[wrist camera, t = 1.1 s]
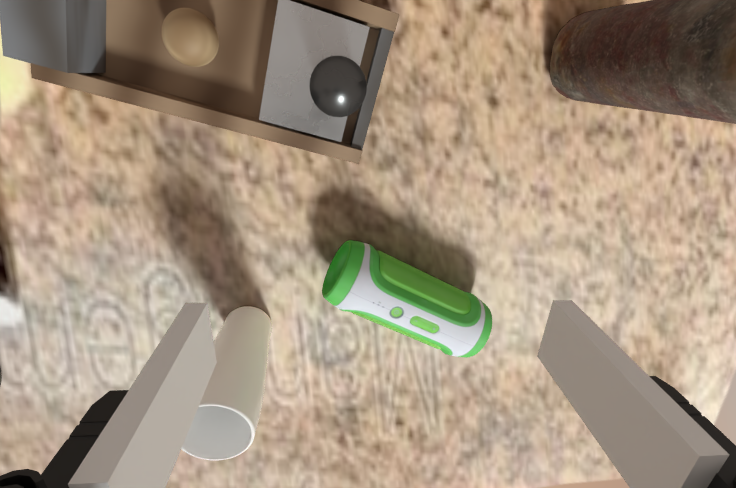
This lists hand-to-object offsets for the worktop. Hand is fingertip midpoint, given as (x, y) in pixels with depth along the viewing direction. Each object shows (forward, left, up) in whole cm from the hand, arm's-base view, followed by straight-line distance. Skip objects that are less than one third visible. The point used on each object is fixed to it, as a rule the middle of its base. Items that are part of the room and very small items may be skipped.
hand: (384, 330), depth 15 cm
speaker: (+9, -11, -26) cm, 30 cm away
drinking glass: (-7, -20, -26) cm, 34 cm away
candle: (+18, +16, -26) cm, 35 cm away
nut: (-15, +8, -22) cm, 28 cm away
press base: (-13, +8, -26) cm, 30 cm away
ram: (-6, +8, -24) cm, 26 cm away
